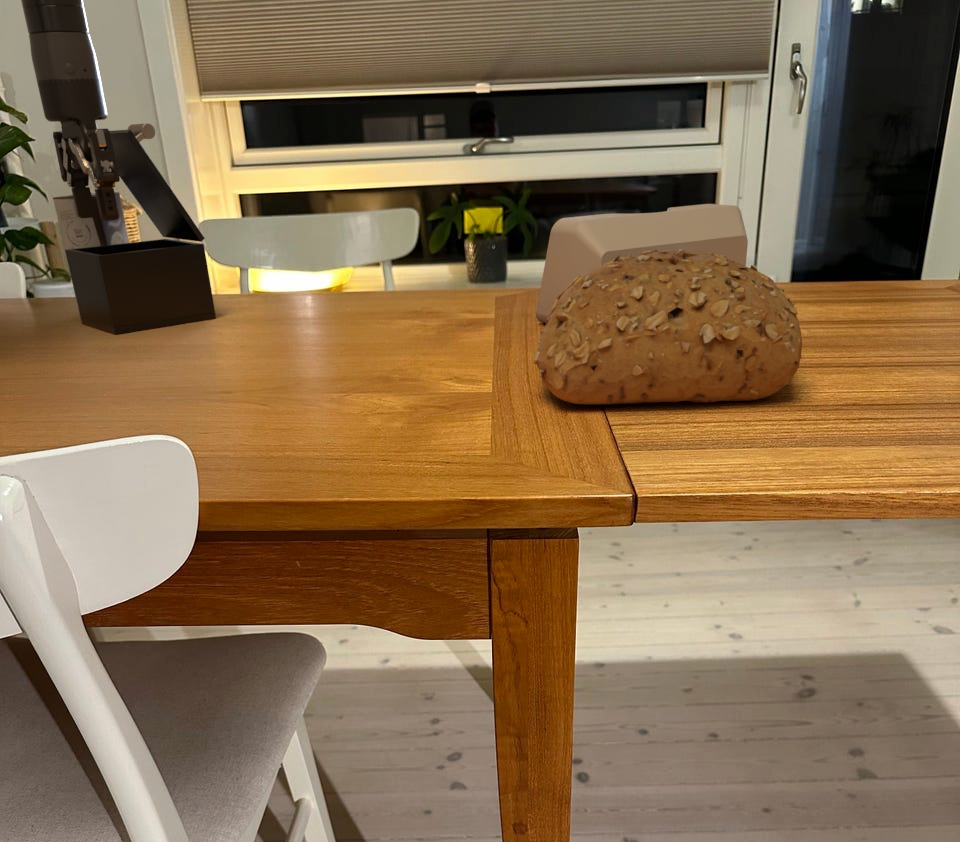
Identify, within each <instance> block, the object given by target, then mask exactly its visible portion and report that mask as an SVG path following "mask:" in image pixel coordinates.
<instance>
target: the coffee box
mask: <svg viewBox="0 0 960 842" xmlns="http://www.w3.org/2000/svg"><path fill="white" fill-rule="evenodd" d="M114 193H115V198H116V203H117V208H118V213H119V218H118V219H117V220H110V221H104V220H102V219H101V217H100V213H99V208H98V203H97V198H96V194H95V192H94V193H91V197H92V201H93V206H94V211H95V216H94V217H92V218H79V217H78V216H77V212H76V207H75V203H74V198H73V194H69V195H61V196H53V197H52V199H53V203H54V208H55V212H56V216H57V222H58V225H59V230H60V234H61V240H62V243H63V248H64V252H65V250H68V249H77V248H86V247H95V246H105V245H114V244H123V243H130V240H129V234H128V231H127V224H126V220H125V215H124V210H123V205H122V200H121V194H120V192H118V191H117V192H115V191H114ZM65 254H66V252H65ZM65 257H66V258H67V256H66V255H65ZM66 262H67V263H68V261H67V260H66ZM67 265H68V264H67ZM68 267H69V265H68ZM68 270H69V271H70V269H69V268H68ZM69 274H70V273H69ZM70 276H71V274H70ZM70 279H71V280H72V278H71V277H70ZM71 283H72V284H73V282H72V281H71ZM72 288H73V289H74V286H73V285H72ZM73 291H74V290H73ZM74 293H75V291H74ZM74 296H75V301H76V302H77V299H76V295H75V294H74ZM76 304H77V303H76ZM77 306H78V304H77ZM77 309H78V310H77V311H78V314H79V315H80V312H79V308H78V307H77Z"/></svg>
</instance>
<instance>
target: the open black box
mask: <svg viewBox="0 0 960 842" xmlns="http://www.w3.org/2000/svg"><path fill="white" fill-rule="evenodd" d="M64 252H66V253H65V257H66V256H67V257H66V262H67V261H68V262H67V265H69V266H68V270H69V269H70V270H69V274H71V275H70V279H71V278H72V279H71V283H72V282H73V283H72V287H73V286H74V288H73V291H75V292H74V296H75V295H76V297H75V300H76V299H77V301H76V304H78V305H77V309H78V308H79V310H78V313H79V312H80V314H79V317H80V321H81V324H82V325H84V326H88V327H91V328H94V329H98V330H100V331H103V332H106V333H109V334H112V335H122V334H129V333H135V332H140V331H146V330H147V331H148V330H154V329H158V328H165V327H171V326H177V325H178V326H179V325H183V324H189V323H196V322H202V321H209V320H214V319H217V315H216V310H215V304H214V297H213V292H212V286H211V280H210V279H211V278H210V273H209V267H208V262H207V261H208V260H207V255H206V250H205V244H204V243H201V242H194V241H186V240H179V239H171V238H161V239H153V240H141V241H134V242H129V243H123V244H114V245H105V246H95V247H86V248H77V249H68V250H65V249H64Z"/></svg>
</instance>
